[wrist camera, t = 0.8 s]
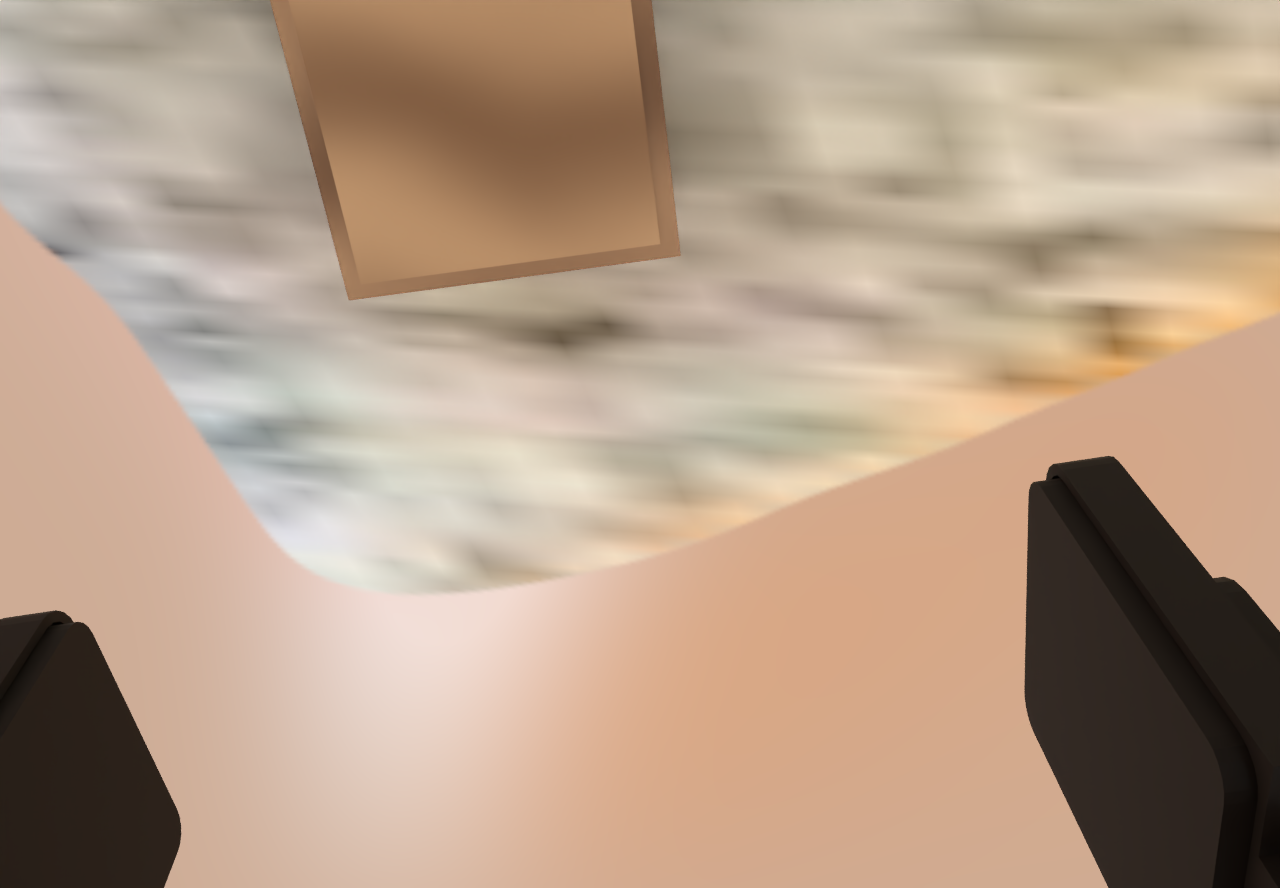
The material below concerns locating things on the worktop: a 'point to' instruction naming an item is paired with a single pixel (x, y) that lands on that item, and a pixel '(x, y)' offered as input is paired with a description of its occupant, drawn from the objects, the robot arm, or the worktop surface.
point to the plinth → (482, 136)
